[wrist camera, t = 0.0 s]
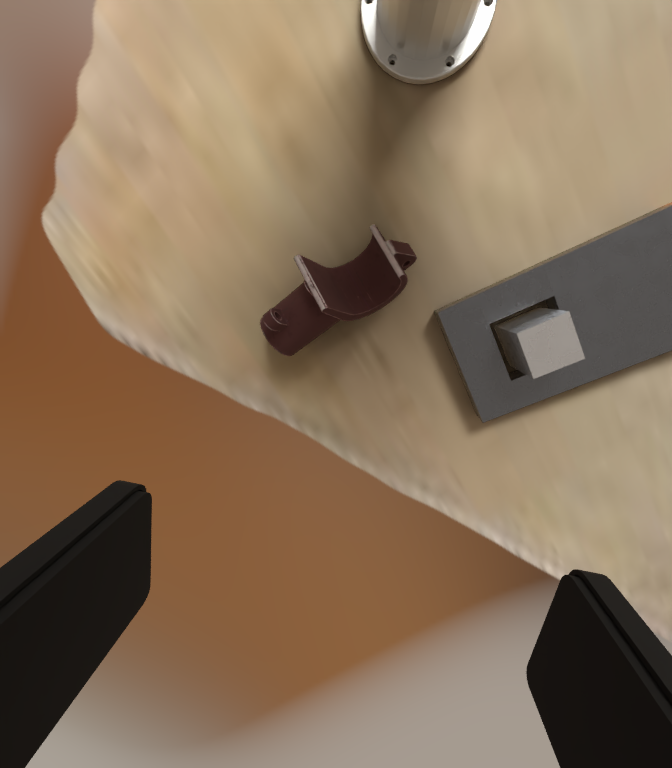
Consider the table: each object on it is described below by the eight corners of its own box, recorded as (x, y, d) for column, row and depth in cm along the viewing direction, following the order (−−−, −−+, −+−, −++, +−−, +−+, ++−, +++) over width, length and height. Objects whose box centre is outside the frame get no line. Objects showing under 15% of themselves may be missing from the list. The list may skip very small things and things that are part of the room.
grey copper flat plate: (434, 311, 42) (437, 312, 40) (787, 149, 35) (818, 139, 33) (477, 415, 45) (483, 422, 43) (814, 284, 38) (843, 284, 36)
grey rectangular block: (493, 326, 42) (516, 333, 36) (537, 307, 41) (569, 311, 35) (508, 364, 43) (533, 379, 36) (551, 347, 42) (585, 358, 36)
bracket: (429, 276, 39) (400, 249, 30) (312, 359, 46) (261, 357, 37) (402, 231, 40) (366, 192, 31) (291, 318, 47) (237, 307, 39)
